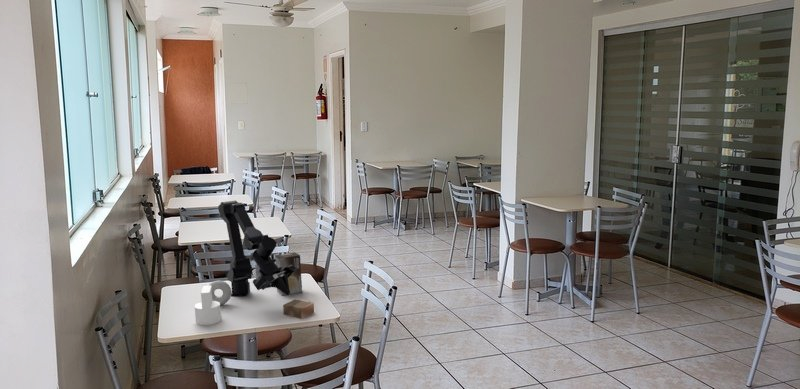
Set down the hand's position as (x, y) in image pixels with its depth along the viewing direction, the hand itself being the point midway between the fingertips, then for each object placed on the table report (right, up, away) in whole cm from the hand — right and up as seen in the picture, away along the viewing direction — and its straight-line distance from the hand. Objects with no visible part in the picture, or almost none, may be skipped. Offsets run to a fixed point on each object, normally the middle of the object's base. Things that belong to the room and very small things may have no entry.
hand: (288, 294), depth 235 cm
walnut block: (0, -5, +1) cm, 5 cm away
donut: (-29, -6, +10) cm, 32 cm away
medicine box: (-18, -1, +41) cm, 45 cm away
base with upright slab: (-28, -9, -7) cm, 31 cm away
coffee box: (-4, -3, +25) cm, 26 cm away
